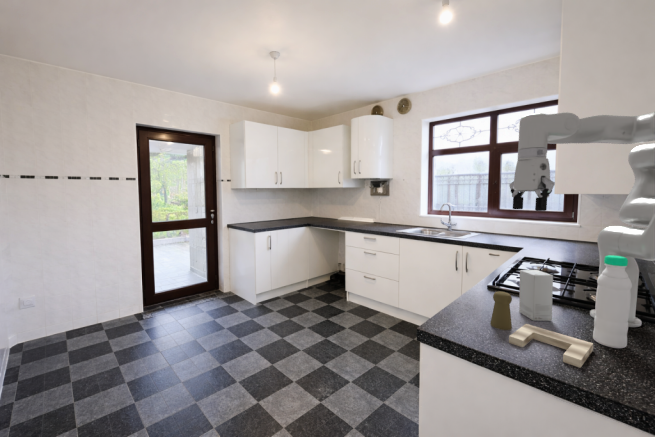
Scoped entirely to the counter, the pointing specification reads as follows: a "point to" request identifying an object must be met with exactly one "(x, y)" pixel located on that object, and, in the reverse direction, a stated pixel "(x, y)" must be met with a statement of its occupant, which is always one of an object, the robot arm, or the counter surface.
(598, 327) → the water bottle
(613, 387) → the counter surface
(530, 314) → the skincare box
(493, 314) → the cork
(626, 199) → the robot arm
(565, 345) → the wooden u-shaped block
